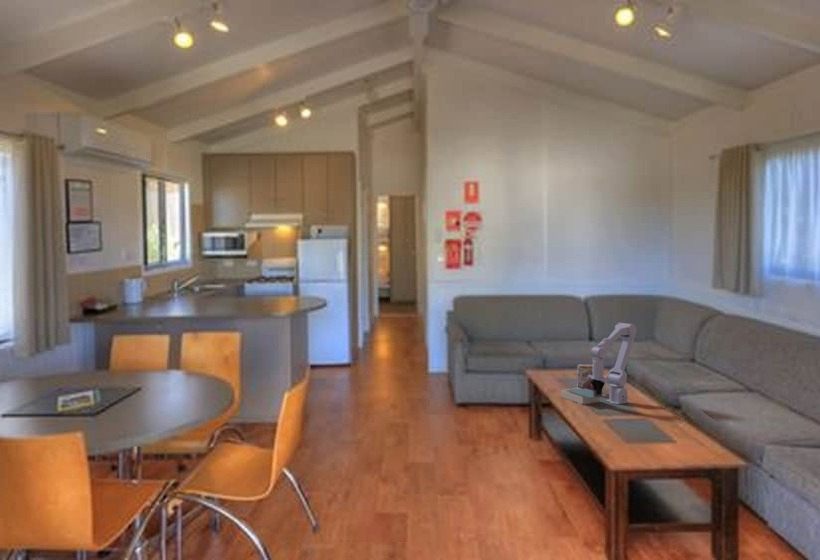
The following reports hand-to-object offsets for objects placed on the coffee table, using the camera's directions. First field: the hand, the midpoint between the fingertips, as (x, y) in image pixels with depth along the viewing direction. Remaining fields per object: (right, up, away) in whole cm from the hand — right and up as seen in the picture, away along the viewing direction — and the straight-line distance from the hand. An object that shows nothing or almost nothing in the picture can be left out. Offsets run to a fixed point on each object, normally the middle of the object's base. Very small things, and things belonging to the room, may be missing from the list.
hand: (597, 394), depth 370 cm
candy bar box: (+2, -5, +30) cm, 31 cm away
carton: (-6, -6, +13) cm, 16 cm away
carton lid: (-3, -1, +7) cm, 8 cm away
